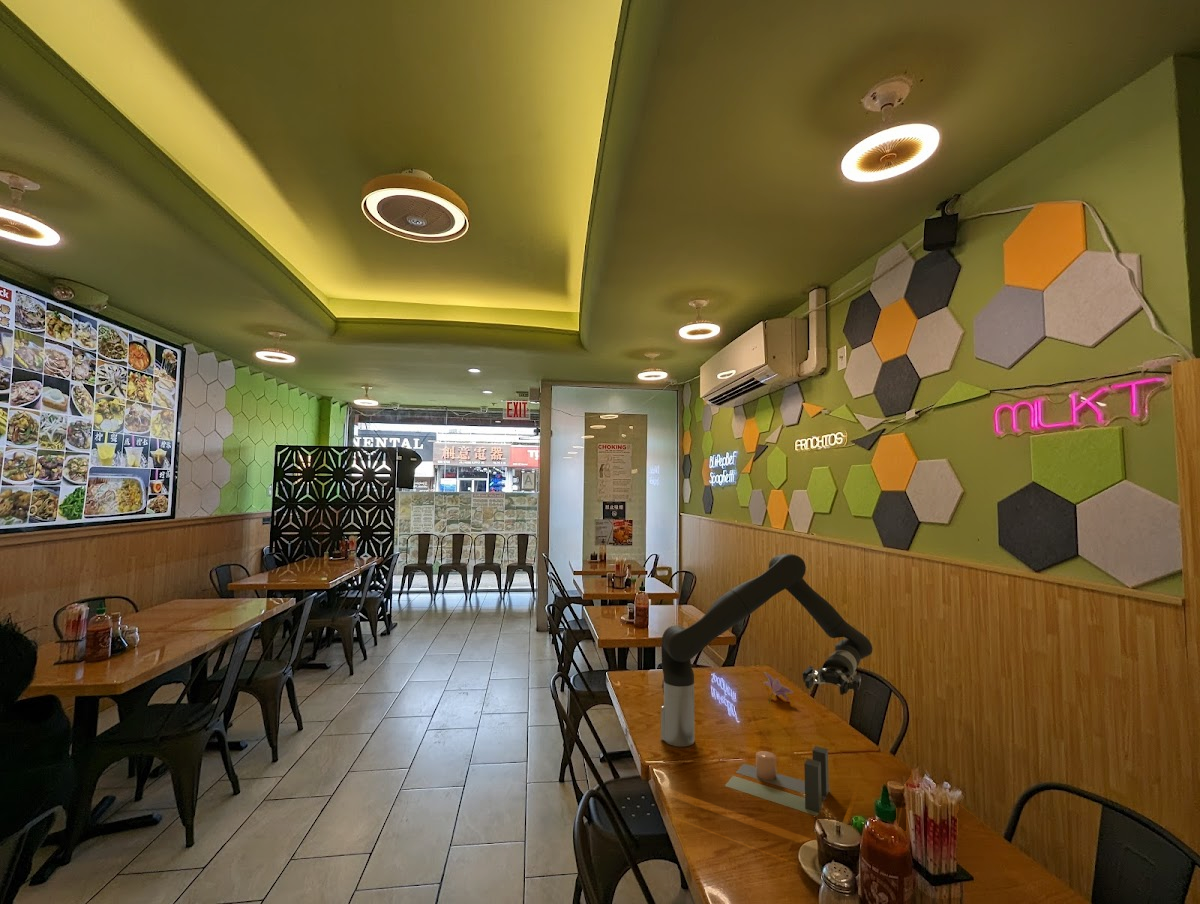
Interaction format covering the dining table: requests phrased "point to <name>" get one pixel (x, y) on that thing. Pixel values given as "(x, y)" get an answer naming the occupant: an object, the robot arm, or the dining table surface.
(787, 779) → the grey l-shaped bracket
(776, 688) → the lily
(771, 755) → the tan round cylinder
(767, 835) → the dining table surface
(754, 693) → the dining table surface
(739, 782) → the grey angle bracket
